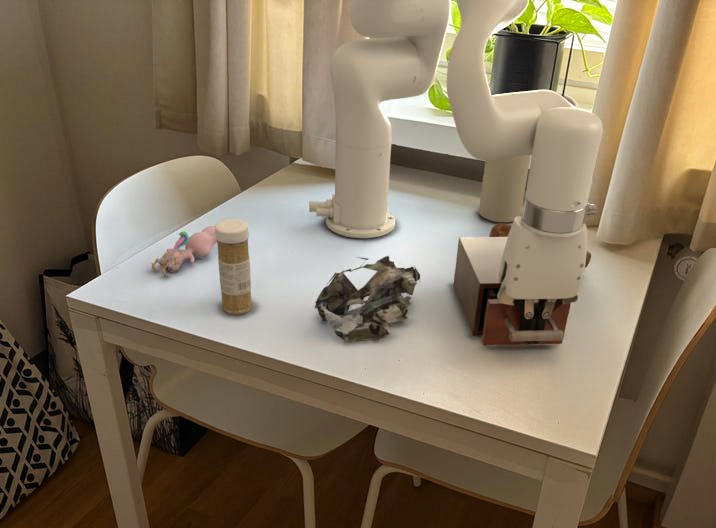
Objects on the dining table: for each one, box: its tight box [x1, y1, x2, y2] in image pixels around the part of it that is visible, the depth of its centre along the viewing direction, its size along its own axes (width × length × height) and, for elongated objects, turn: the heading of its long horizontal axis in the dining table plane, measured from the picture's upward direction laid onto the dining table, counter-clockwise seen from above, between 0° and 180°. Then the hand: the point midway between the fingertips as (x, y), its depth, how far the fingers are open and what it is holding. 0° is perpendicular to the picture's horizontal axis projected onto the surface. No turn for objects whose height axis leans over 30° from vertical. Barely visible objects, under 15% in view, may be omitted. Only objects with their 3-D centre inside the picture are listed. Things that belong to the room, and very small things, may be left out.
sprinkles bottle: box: [214, 218, 253, 316], centre depth 109 cm, size 5×5×14 cm
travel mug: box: [478, 155, 532, 224], centre depth 141 cm, size 8×8×18 cm
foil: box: [314, 255, 421, 343], centre depth 110 cm, size 12×11×15 cm
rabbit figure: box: [150, 225, 217, 276], centre depth 123 cm, size 6×6×15 cm
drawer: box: [480, 288, 572, 347], centre depth 109 cm, size 18×11×7 cm, turn 7°
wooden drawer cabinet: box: [452, 236, 508, 337], centre depth 114 cm, size 15×13×9 cm
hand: (529, 338), depth 104 cm, fingers closed
